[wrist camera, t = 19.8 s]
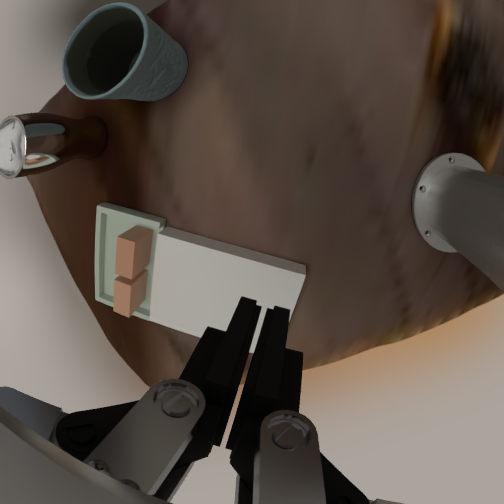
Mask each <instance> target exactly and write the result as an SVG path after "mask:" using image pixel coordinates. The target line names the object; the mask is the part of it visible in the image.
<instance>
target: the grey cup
mask: <svg viewBox="0 0 504 504" xmlns="http://www.w3.org/2000/svg"><path fill="white" fill-rule="evenodd" d="M187 69H188V60H187V55H186V52H185V50H184V49H183V47H182V46H181V45H180V44H179V43H177V42H176V41H175V40H174V39H173V38H171V37H170V36H169V35H168V34H167V33H166V32H165V31H163V30H162V29H161V27H159V26H158V25H157V24H156V23H155V22H153V21H152V20H151V19H150V18H149V17H148V16H147V15H146V14H144V13H143V12H142V11H141V10H140V9H138V8H137V7H135V6H133V5H131V4H128V3H122V2H119V3H112V4H108V5H105V6H103V7H100V8H99V9H97V10H95V11H93V12H92V13H91V14H89V15H88V16H87V17H86V18H85V19H84V20H83V21H82V22H81V23H80V24H79V26H77V28H76V29H75V30H74V32H73V33H72V35H71V37H70V39H69V41H68V43H67V45H66V48H65V51H64V55H63V60H62V73H63V78H64V81H65V84H66V86H67V87H68V89H69V90H70V91H71V92H73V93H74V94H75V95H76V96H78V97H81V98H84V99H133V100H137V101H157V100H160V99H163V98H165V97H167V96H168V95H170V94H171V93H173V92H174V91H175V90H176V89H177V88H178V87H179V86H180V85H181V84H182V82H183V80H184V78H185V76H186V73H187Z"/></svg>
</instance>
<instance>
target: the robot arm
mask: <svg viewBox="0 0 504 504" xmlns="http://www.w3.org/2000/svg"><path fill="white" fill-rule="evenodd" d="M449 158H450V161H449ZM420 186H421V189H420V190H419V188H420ZM412 215H413V219H414V222H415V226H416V228H417V230H418V232H419V234H420V235H421V236H422V237H423V239H424V240H425V241H426V242H427V243H428V244H429V245H431V246H432V247H434V248H435V249H437V250H440V251H442V252H448V253H454V252H459V253H460V254H461V255H463V256H464V257H465V258H466V259H467V260H469V261H470V262H471V263H472V264H473V265H475V266H476V267H477V268H478V269H479V270H480V271H481V272H483V273H484V274H485V275H486V276H487V277H488V278H489V279H491V280H492V281H493V282H494V283H495V284H496V285H497V286H498V287H499V288H500V289H501V290H503V291H504V177H503V176H500V175H496V174H492V173H488V172H485V170H484V168H483V167H482V166H481V165H480V164H479V163H478V162H477V161H476V160H474V159H473V158H472V157H470V156H467V155H465V154H461V153H445V154H441V155H439V156H437V157H435V158H433V159H432V160H431V161H430V162H428V163H427V164H426V166H425V167H424V168H423V169H422V171H421V172H420V174H419V176H418V178H417V180H416V183H415V185H414V189H413V194H412ZM426 231H427V232H426ZM425 232H426V233H425ZM256 303H257V300H254V299H250V298H246V297H243V296H241V298H240V300H239V302H238V305H237V307H236V309H235V312H234V314H233V316H232V319H231V321H230V323H229V325H228V328H227V330H226V331H222V330H219V329H216V328H213V327H209V326H208V327H207V328H206V329H205V331H204V333H203V335H202V337H201V339H200V341H199V342H198V344H197V346H196V348H195V350H194V352H193V354H192V355H191V357H190V359H189V361H188V363H187V365H186V367H185V368H184V370H183V372H182V374H181V376H180V378H179V379H164V380H162V381H159V382H157V383H156V384H154V385H153V386H152V387H151V388H150V389H149V390H148V391H147V392H146V393H145V395H144V396H143V397H142V398H141V399H140V400H138V401H134V402H129V403H124V404H120V405H114V406H109V407H103V408H97V409H91V410H86V411H78V412H74V413H71V414H68V413H65V412H63V410H62V409H61V408H59V407H56V406H54V405H51V404H49V403H46V402H43V401H41V400H38V399H36V398H34V397H31V396H29V395H26V394H24V393H22V392H20V391H17V390H15V389H13V388H10V387H0V504H172V503H170V501H171V500H172V498H173V496H174V495H175V493H176V491H177V490H178V488H179V487H180V486H181V484H182V482H183V481H184V479H185V477H186V476H187V474H188V473H189V471H190V470H191V468H192V466H193V464H194V462H195V461H197V460H199V459H202V458H205V457H208V455H209V453H210V452H211V449H212V447H213V445H216V446H220V444H221V441H222V438H223V435H224V432H225V429H226V425H227V423H228V419H229V416H230V413H231V410H232V407H233V404H234V400H235V397H236V394H237V391H238V387H239V384H240V381H241V378H242V374H243V371H244V368H245V364H246V361H247V358H248V354H249V351H250V347H251V344H252V340H253V337H254V333H255V330H256V326H257V323H258V319H259V316H260V312H261V309H262V306H259V305H256ZM289 317H290V309H287V308H283V307H279V306H274V308H273V309H270V308H267V310H266V314H265V317H264V320H263V324H262V327H261V331H260V334H259V337H258V341H257V344H256V347H255V350H254V354H253V357H252V360H251V364H250V367H249V370H248V374H247V377H246V381H245V384H244V388H243V391H242V394H241V398H240V401H239V405H238V408H237V411H236V415H235V418H234V422H233V425H232V428H231V431H230V435H229V438H228V441H227V444H226V448H227V449H230V450H232V452H231V455H230V459H231V460H230V464H231V465H232V467H233V468H234V469H235V470H236V472H237V473H238V474H237V477H236V492H235V504H402V503H397V502H391V501H386V500H381V499H376V500H375V501H372V500H368V499H367V497H366V496H365V495H364V494H363V493H362V492H361V491H360V490H359V489H358V488H357V487H356V486H355V485H353V484H352V483H351V482H350V481H349V480H348V479H347V478H346V477H345V476H344V475H343V474H342V473H341V472H340V471H339V470H338V469H337V468H335V467H334V465H333V464H332V463H331V462H330V461H329V460H327V458H325V456H323V454H322V453H321V452H320V450H319V442H318V434H317V431H316V428H315V426H314V424H313V423H312V422H311V420H309V419H308V418H307V417H306V416H304V415H302V414H300V413H299V405H300V393H301V379H302V367H303V352H299V351H295V350H291V349H287V348H285V347H286V340H287V332H288V325H289Z"/></svg>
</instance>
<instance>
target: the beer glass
mask: <svg viewBox="0 0 504 504" xmlns="http://www.w3.org/2000/svg"><path fill="white" fill-rule="evenodd" d="M106 142H107V129H106V126H105V124H104V123H103V121H102V120H101V119H99V118H97V117H86V118H82V119H72V118H68V117H65V116H61V115H57V114H52V113H28V114H21V115H15V116H8V117H7V118H5V119H4V120H3V121H2V123H1V124H0V174H1V175H2V176H3V177H4V178H7V179H12V178H17V177H25V176H31V175H36V174H40V173H43V172H47V171H49V170H52V169H54V168H56V167H58V166H61V165H63V164H65V163H67V162H69V161H71V160H74V159H85V160H91V159H94V158H96V157H98V156H99V155H100V154H101V153H102V152H103V150H104V148H105V146H106Z"/></svg>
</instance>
